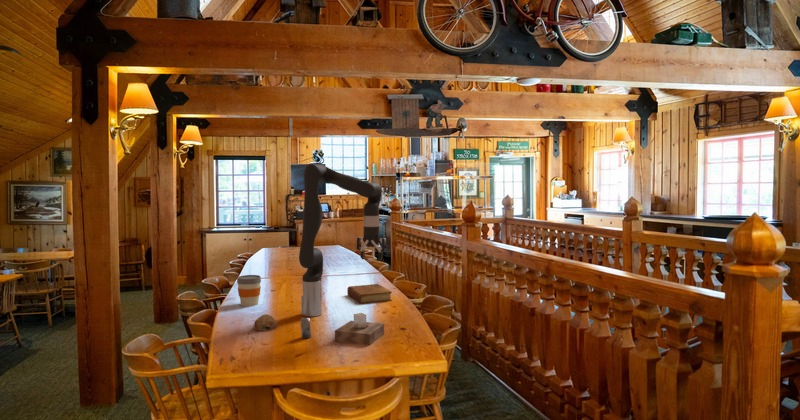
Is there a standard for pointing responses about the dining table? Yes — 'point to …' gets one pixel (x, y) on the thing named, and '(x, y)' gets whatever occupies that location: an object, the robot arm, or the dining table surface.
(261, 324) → the bread roll
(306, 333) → the round bit
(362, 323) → the square bit
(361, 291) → the diary
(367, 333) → the socket block
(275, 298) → the dining table surface
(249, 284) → the reusable coffee cup
